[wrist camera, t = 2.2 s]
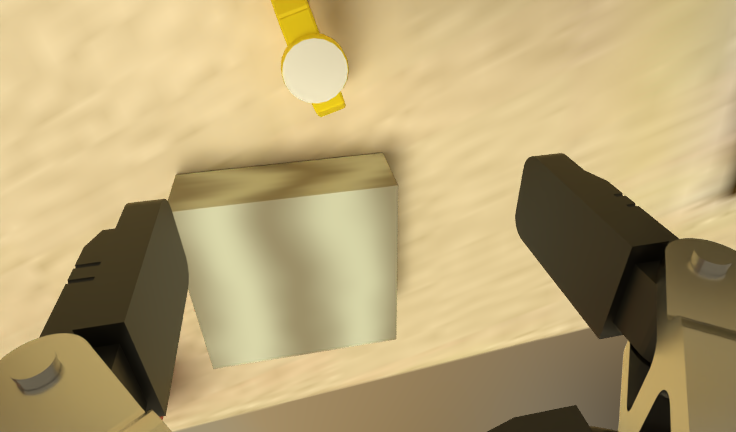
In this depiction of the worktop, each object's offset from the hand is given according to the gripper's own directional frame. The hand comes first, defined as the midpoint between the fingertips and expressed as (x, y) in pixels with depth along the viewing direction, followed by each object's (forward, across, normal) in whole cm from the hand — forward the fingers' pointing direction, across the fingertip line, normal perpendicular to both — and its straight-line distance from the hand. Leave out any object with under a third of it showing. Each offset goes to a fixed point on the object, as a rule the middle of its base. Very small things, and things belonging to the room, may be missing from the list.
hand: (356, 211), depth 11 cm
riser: (+16, +2, +13) cm, 21 cm away
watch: (+17, 0, 0) cm, 17 cm away
